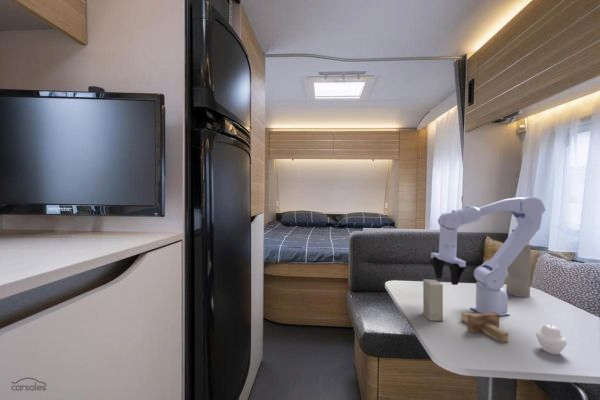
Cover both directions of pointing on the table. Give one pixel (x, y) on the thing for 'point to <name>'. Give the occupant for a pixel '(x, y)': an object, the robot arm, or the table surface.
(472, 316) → the tall wooden block
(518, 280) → the thermos bottle
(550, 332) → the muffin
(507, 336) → the oak rail
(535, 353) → the table surface
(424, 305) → the skincare box
